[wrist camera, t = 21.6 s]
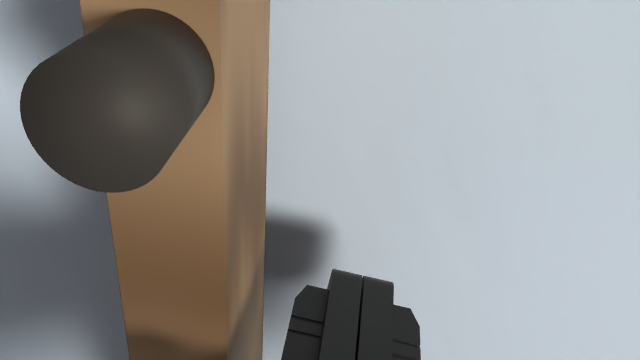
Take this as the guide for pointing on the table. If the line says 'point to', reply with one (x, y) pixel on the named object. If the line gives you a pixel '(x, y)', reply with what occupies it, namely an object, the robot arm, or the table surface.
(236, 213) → the crank lever
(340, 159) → the table surface
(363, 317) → the robot arm
